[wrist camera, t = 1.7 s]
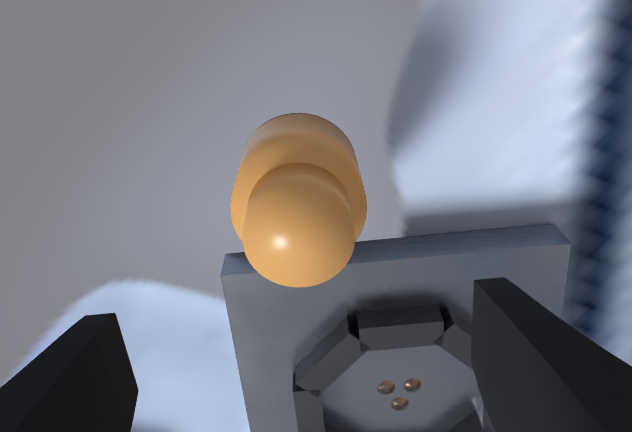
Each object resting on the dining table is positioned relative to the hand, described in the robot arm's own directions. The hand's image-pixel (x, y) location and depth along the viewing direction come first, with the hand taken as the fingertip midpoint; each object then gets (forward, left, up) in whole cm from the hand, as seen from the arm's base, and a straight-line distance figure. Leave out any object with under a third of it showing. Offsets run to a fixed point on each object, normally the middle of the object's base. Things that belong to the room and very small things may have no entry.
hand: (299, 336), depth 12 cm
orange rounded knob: (0, 0, -9) cm, 9 cm away
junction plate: (-3, +9, -9) cm, 13 cm away
